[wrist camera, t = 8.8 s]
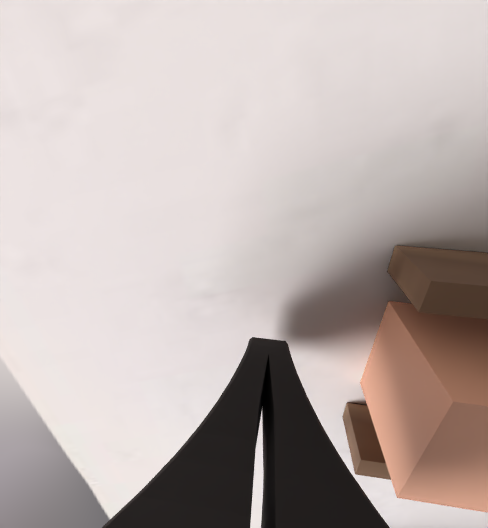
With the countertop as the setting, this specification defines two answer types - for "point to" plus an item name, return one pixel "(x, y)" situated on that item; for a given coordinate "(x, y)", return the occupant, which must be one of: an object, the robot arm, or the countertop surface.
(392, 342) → the terracotta block
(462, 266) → the walnut bay
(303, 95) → the countertop surface
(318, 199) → the countertop surface
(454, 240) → the countertop surface
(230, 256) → the countertop surface
